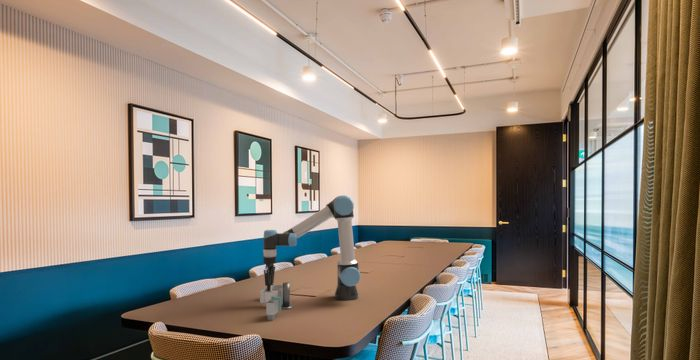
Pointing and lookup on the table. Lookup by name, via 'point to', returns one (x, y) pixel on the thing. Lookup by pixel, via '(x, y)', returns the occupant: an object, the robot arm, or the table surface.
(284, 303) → the riser post
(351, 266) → the robot arm
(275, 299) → the duct stub
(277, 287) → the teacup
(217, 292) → the table surface
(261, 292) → the elbow
